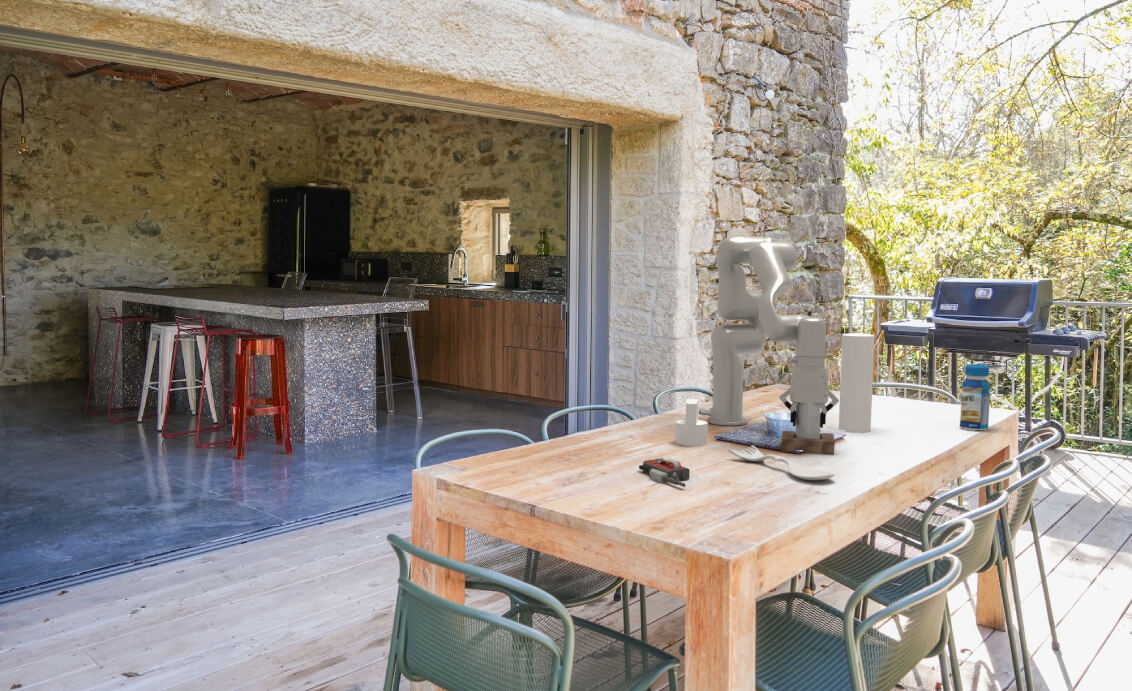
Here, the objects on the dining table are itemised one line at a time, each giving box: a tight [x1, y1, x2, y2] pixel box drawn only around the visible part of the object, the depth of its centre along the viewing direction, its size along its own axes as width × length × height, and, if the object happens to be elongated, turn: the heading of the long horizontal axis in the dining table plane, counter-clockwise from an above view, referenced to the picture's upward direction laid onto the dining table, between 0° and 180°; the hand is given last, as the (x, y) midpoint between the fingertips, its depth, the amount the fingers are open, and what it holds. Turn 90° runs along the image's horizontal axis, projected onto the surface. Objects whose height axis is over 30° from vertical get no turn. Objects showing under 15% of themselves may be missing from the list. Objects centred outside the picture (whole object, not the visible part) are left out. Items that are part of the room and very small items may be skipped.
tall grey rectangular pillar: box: [838, 332, 875, 433], centre depth 272 cm, size 9×9×30 cm
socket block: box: [780, 430, 836, 456], centre depth 245 cm, size 14×12×4 cm
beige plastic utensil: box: [726, 444, 835, 481], centre depth 220 cm, size 9×32×4 cm, turn 29°
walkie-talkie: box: [638, 457, 690, 488], centre depth 210 cm, size 9×4×20 cm
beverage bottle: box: [959, 364, 992, 432], centre depth 276 cm, size 8×8×20 cm
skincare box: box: [795, 399, 821, 439], centre depth 245 cm, size 6×4×12 cm
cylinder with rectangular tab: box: [674, 398, 709, 447], centre depth 252 cm, size 9×9×12 cm
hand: (807, 425), depth 245 cm, fingers closed on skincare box, 6 cm apart
